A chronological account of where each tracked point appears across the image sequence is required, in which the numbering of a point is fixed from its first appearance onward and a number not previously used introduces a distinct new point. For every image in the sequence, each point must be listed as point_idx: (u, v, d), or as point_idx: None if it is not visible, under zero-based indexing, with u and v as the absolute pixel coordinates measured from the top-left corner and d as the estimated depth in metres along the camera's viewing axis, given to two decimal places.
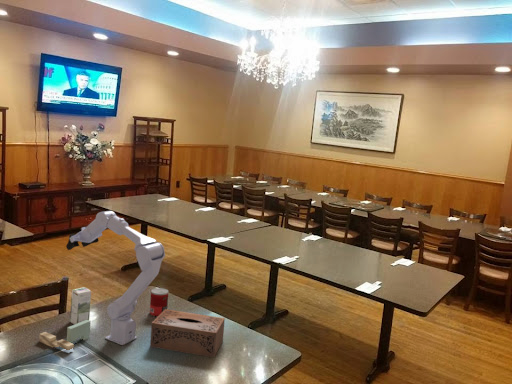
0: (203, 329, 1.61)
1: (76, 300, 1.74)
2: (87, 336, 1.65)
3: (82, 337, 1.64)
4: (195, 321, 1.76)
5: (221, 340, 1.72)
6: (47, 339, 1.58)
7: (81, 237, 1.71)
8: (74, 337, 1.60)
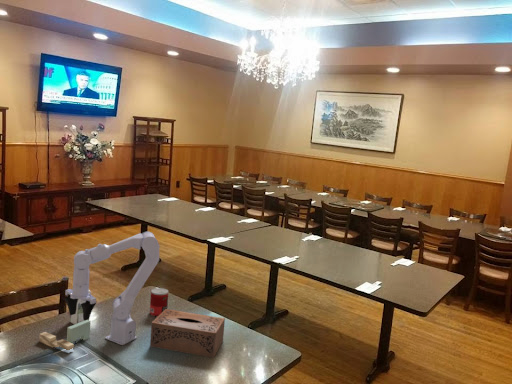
0: (203, 329, 1.61)
1: None
2: (87, 336, 1.65)
3: (82, 337, 1.64)
4: (195, 321, 1.76)
5: (221, 340, 1.71)
6: (47, 339, 1.58)
7: (87, 296, 1.60)
8: (74, 337, 1.60)
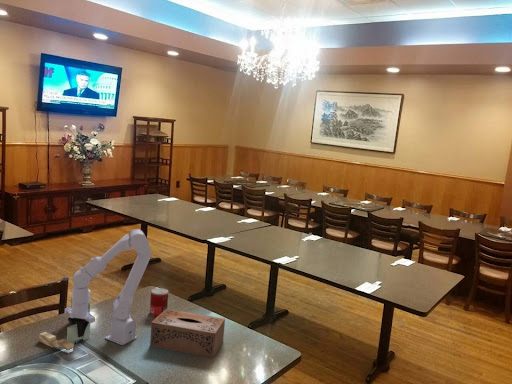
0: (202, 330, 1.61)
1: None
2: (87, 336, 1.65)
3: (82, 337, 1.64)
4: (196, 321, 1.75)
5: (221, 340, 1.71)
6: (47, 339, 1.58)
7: (86, 315, 1.61)
8: (74, 337, 1.60)
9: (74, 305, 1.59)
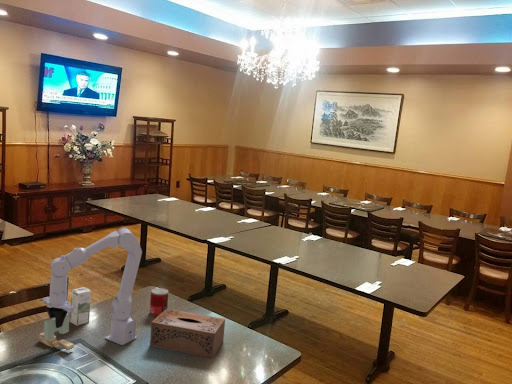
0: (202, 330, 1.61)
1: (76, 300, 1.74)
2: (65, 329, 1.59)
3: (60, 331, 1.59)
4: (196, 321, 1.75)
5: (221, 341, 1.71)
6: None
7: (64, 304, 1.55)
8: (51, 331, 1.54)
9: (52, 294, 1.53)
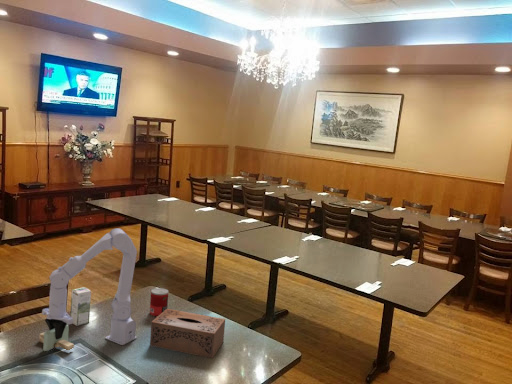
0: (202, 330, 1.61)
1: (76, 300, 1.74)
2: None
3: None
4: (196, 321, 1.75)
5: (221, 341, 1.71)
6: None
7: (63, 316, 1.55)
8: (51, 342, 1.54)
9: (51, 306, 1.53)
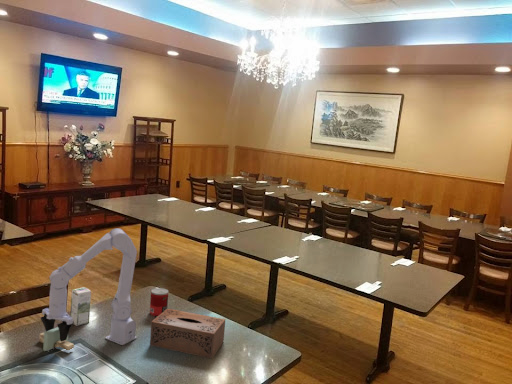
0: (202, 330, 1.61)
1: (76, 300, 1.74)
2: None
3: None
4: (196, 321, 1.75)
5: (221, 341, 1.71)
6: None
7: (63, 316, 1.55)
8: (51, 342, 1.54)
9: (51, 306, 1.53)
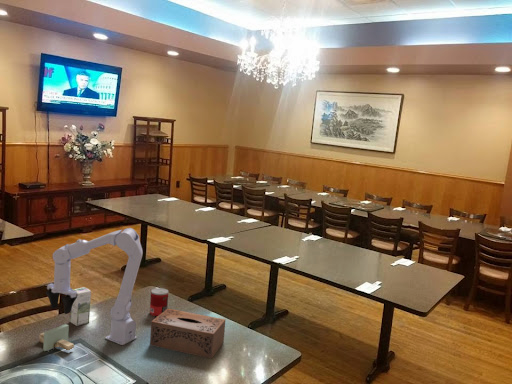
0: (201, 330, 1.61)
1: (76, 300, 1.74)
2: None
3: None
4: (196, 321, 1.75)
5: (221, 341, 1.70)
6: None
7: (67, 290, 1.64)
8: (51, 342, 1.54)
9: (56, 280, 1.62)
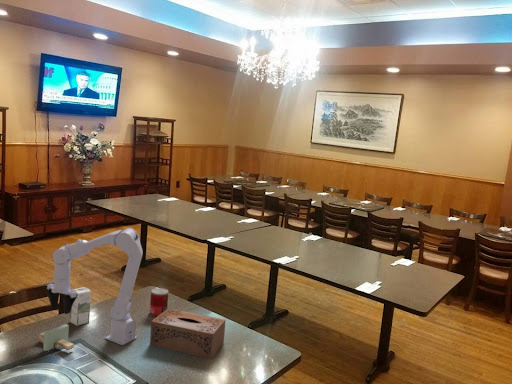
0: (201, 330, 1.60)
1: (76, 300, 1.74)
2: None
3: None
4: (197, 321, 1.75)
5: (221, 342, 1.70)
6: None
7: (67, 290, 1.64)
8: (51, 342, 1.54)
9: (56, 280, 1.62)
